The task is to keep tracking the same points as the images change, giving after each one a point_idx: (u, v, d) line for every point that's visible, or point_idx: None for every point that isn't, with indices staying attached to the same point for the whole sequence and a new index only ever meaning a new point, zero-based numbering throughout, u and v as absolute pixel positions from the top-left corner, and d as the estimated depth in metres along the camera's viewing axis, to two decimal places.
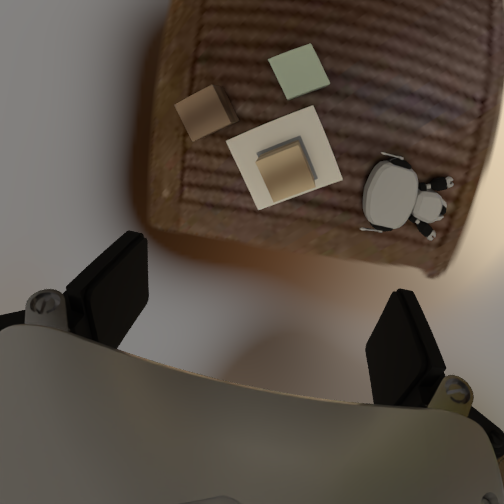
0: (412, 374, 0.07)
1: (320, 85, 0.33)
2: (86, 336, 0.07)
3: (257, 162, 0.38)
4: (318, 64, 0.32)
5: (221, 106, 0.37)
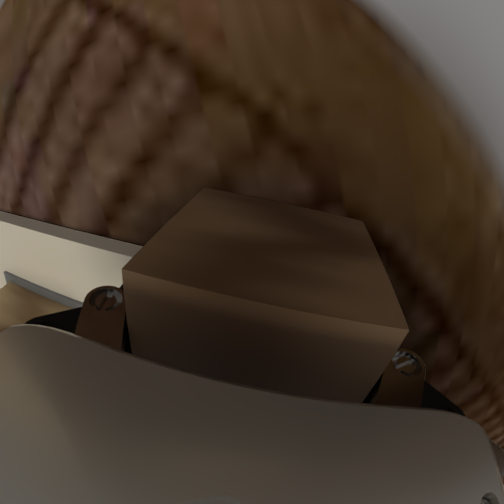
0: None
1: None
2: None
3: None
4: None
5: None
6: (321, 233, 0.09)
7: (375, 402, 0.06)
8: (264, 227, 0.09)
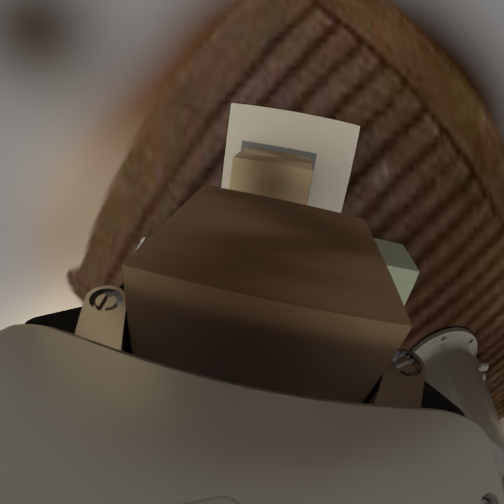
0: None
1: None
2: None
3: (310, 173, 0.22)
4: None
5: None
6: (322, 230, 0.09)
7: (375, 402, 0.06)
8: (266, 224, 0.09)
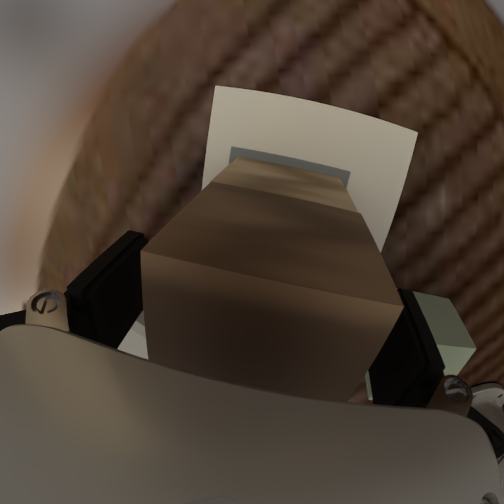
0: (411, 373, 0.07)
1: None
2: (87, 336, 0.07)
3: None
4: None
5: None
6: (321, 223, 0.10)
7: None
8: (269, 217, 0.09)
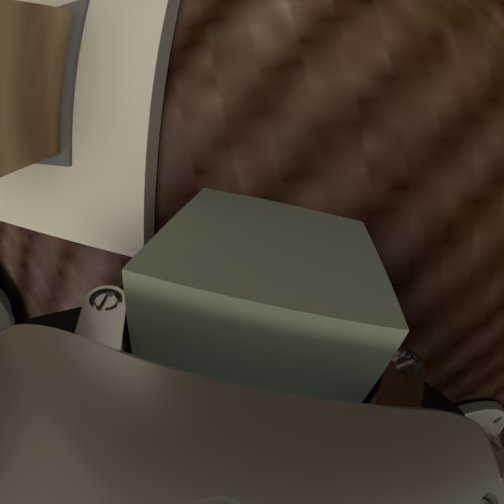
0: None
1: None
2: None
3: None
4: None
5: None
6: None
7: (375, 402, 0.06)
8: None
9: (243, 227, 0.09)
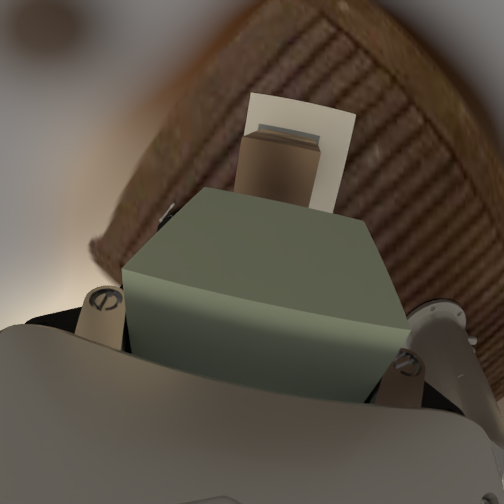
0: None
1: None
2: None
3: None
4: None
5: None
6: (298, 142, 0.25)
7: (375, 402, 0.06)
8: (279, 138, 0.25)
9: (244, 226, 0.08)
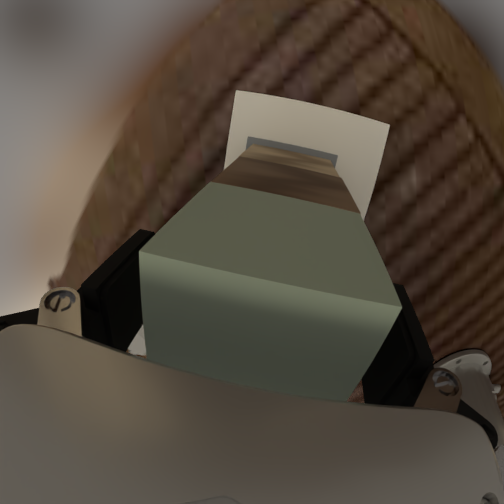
0: (400, 366, 0.07)
1: None
2: (100, 334, 0.08)
3: None
4: None
5: None
6: (314, 179, 0.15)
7: None
8: (280, 174, 0.15)
9: (248, 216, 0.09)
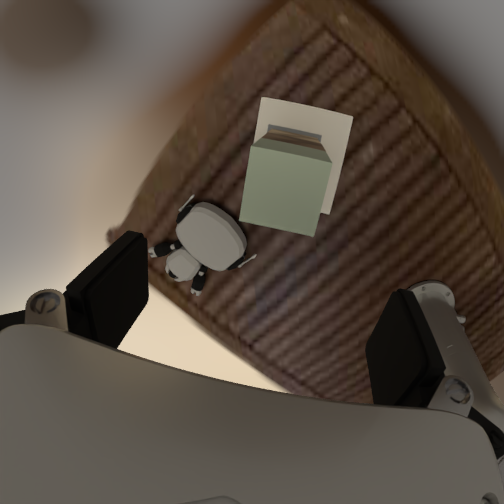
0: (412, 374, 0.07)
1: (243, 206, 0.23)
2: (86, 336, 0.07)
3: None
4: (276, 224, 0.24)
5: None
6: (306, 142, 0.30)
7: None
8: (290, 139, 0.29)
9: (280, 145, 0.24)
